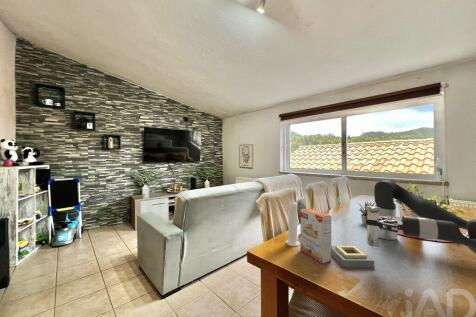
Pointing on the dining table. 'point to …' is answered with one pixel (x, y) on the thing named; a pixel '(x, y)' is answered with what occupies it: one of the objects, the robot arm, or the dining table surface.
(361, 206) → the house plant
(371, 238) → the shaft
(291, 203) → the candle
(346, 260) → the grey square socket base
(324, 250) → the cracker box
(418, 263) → the dining table surface
